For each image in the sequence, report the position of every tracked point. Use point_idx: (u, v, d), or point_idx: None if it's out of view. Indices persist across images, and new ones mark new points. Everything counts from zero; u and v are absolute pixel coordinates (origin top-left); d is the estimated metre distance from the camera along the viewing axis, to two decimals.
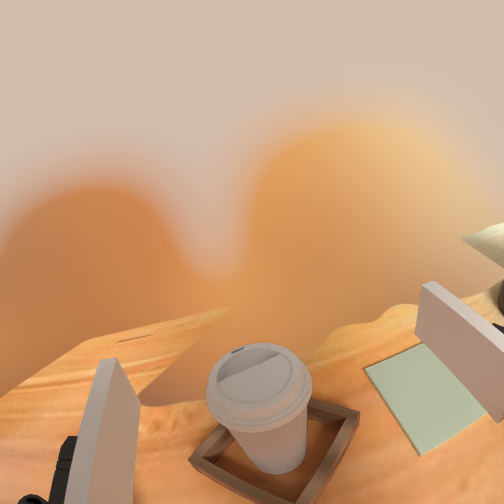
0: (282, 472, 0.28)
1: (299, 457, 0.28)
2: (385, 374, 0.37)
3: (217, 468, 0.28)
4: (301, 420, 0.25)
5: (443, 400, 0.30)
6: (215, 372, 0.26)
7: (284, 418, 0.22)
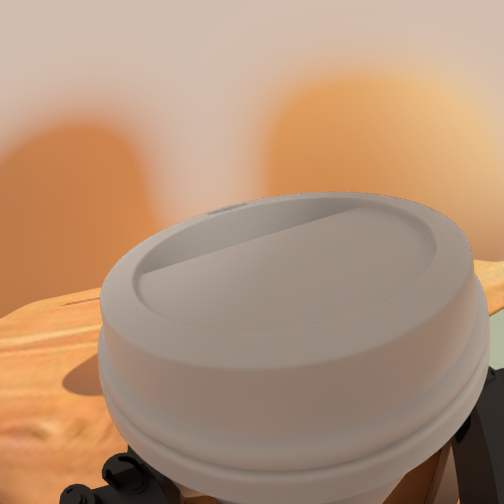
0: None
1: None
2: None
3: None
4: None
5: None
6: (147, 251, 0.08)
7: (453, 412, 0.03)
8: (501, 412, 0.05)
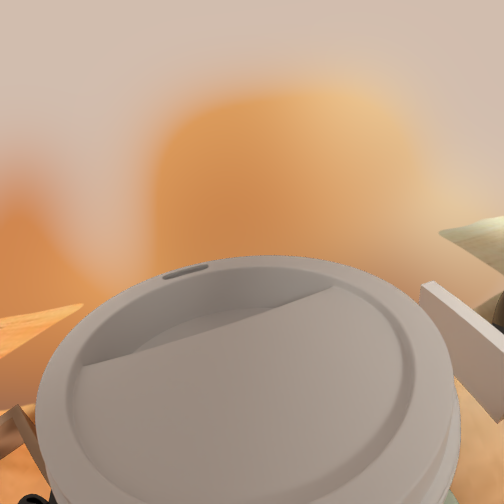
0: None
1: None
2: None
3: None
4: None
5: None
6: (91, 331, 0.06)
7: None
8: None
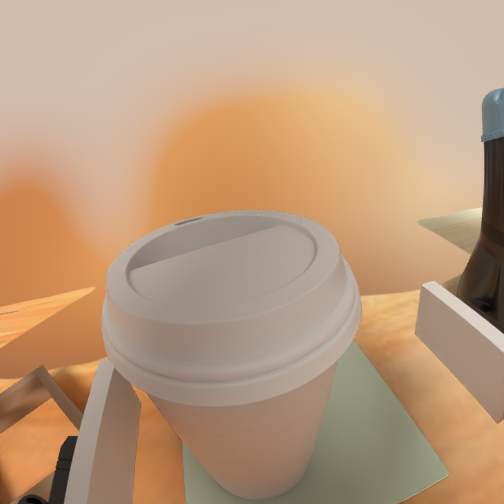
0: (268, 496, 0.14)
1: (303, 469, 0.14)
2: None
3: None
4: (329, 385, 0.11)
5: None
6: (132, 253, 0.11)
7: (307, 363, 0.07)
8: None
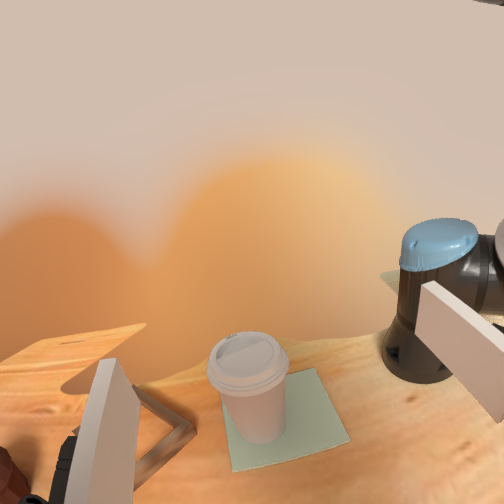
0: (265, 442, 0.36)
1: (279, 428, 0.36)
2: None
3: None
4: (280, 392, 0.33)
5: None
6: (215, 352, 0.34)
7: (267, 386, 0.30)
8: None
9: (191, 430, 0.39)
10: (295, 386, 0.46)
